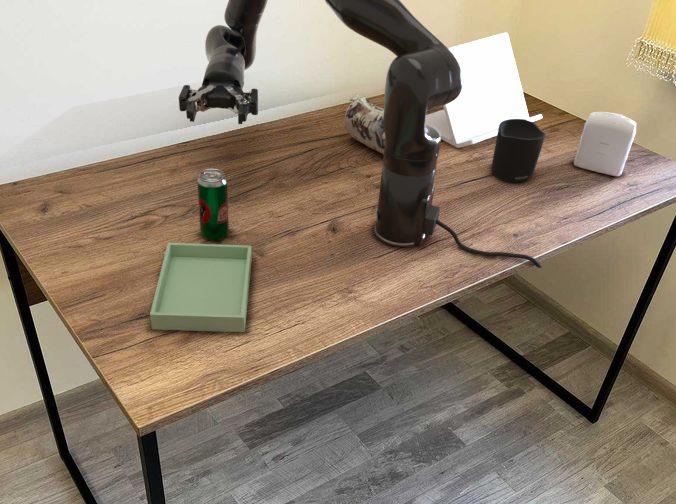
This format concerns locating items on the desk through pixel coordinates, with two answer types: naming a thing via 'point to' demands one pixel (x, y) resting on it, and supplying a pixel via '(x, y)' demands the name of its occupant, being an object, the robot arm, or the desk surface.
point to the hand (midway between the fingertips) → (215, 118)
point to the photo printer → (605, 143)
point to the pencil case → (365, 123)
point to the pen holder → (517, 150)
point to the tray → (202, 288)
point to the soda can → (213, 204)
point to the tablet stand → (482, 93)
